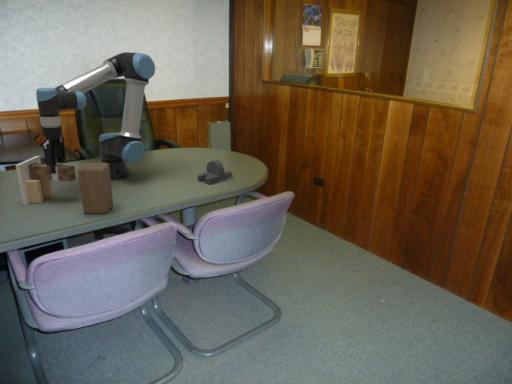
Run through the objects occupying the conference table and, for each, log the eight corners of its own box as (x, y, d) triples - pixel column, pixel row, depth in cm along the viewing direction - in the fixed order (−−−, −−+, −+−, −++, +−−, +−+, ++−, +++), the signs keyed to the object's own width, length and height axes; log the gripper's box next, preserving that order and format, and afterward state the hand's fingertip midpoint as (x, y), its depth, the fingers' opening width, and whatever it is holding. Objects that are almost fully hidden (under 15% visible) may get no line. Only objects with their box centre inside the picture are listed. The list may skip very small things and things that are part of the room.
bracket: (232, 178, 212) (233, 159, 208) (209, 185, 199) (209, 165, 195) (220, 174, 218) (220, 155, 214) (196, 181, 205) (196, 162, 201)
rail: (76, 178, 171) (74, 165, 168) (71, 181, 166) (69, 167, 164) (36, 175, 171) (34, 162, 169) (31, 178, 167) (28, 164, 165)
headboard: (56, 193, 180) (50, 156, 173) (37, 205, 166) (30, 165, 159) (42, 192, 180) (36, 155, 174) (23, 204, 166) (15, 165, 159)
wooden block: (90, 205, 168) (85, 161, 161) (113, 205, 169) (109, 162, 162) (83, 214, 159) (77, 168, 152) (107, 214, 160) (102, 169, 153)
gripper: (53, 121, 169) (60, 172, 177) (30, 129, 153) (39, 184, 161) (70, 122, 168) (76, 173, 176) (48, 130, 152) (56, 185, 160)
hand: (58, 178), depth 169 cm, fingers closed on rail, 4 cm apart
